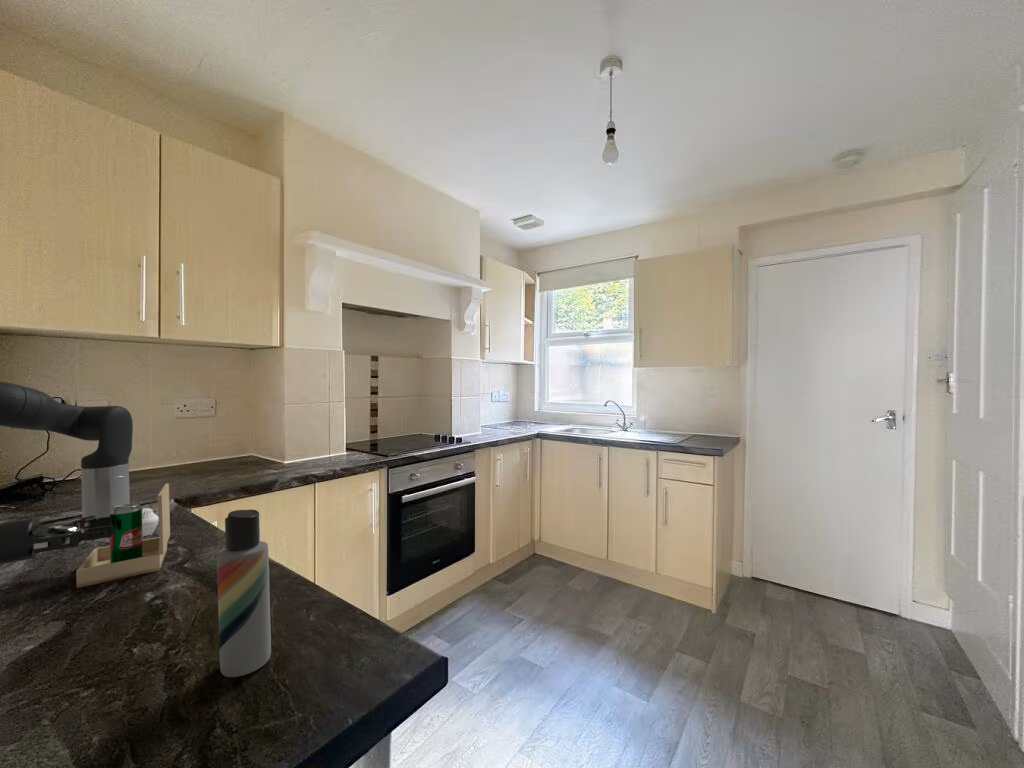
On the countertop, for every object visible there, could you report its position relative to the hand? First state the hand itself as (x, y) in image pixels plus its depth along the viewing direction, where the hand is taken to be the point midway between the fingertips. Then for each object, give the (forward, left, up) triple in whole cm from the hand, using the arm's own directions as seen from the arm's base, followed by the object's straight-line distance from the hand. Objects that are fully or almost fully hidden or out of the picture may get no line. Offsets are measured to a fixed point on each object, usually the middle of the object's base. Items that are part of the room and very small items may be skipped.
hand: (117, 525), depth 87 cm
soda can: (0, +1, -9) cm, 9 cm away
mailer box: (0, +1, -9) cm, 9 cm away
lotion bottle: (+53, +20, -9) cm, 57 cm away
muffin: (-24, +1, -9) cm, 26 cm away
